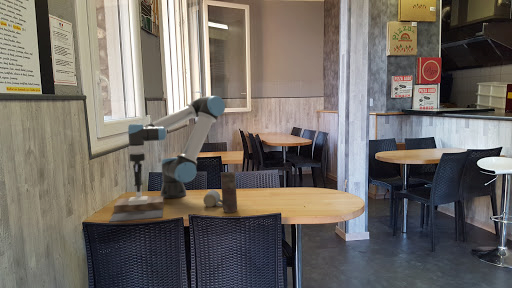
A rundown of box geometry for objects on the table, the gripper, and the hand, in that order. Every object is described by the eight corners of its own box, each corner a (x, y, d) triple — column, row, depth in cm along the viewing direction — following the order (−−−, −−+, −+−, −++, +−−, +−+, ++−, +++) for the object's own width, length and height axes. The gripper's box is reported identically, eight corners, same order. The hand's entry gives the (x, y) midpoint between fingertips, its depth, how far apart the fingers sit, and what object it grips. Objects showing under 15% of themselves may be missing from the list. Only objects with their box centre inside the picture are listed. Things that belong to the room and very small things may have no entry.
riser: (164, 202, 202) (163, 195, 202) (163, 209, 188) (162, 201, 188) (118, 206, 197) (118, 199, 196) (114, 213, 183) (113, 205, 183)
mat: (163, 209, 187) (163, 208, 187) (162, 217, 174) (162, 216, 174) (114, 213, 182) (114, 212, 182) (109, 222, 169) (109, 221, 169)
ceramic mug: (202, 207, 190) (202, 193, 189) (207, 203, 198) (206, 189, 197) (222, 208, 188) (222, 193, 187) (226, 204, 196) (225, 190, 195)
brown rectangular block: (219, 211, 182) (217, 172, 180) (230, 208, 187) (229, 170, 185) (229, 214, 176) (227, 173, 174) (240, 210, 181) (239, 171, 180)
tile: (148, 200, 192) (148, 196, 192) (147, 203, 185) (146, 199, 184) (130, 201, 191) (130, 197, 190) (128, 205, 183) (128, 200, 183)
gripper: (131, 152, 195) (133, 195, 198) (127, 155, 183) (130, 200, 185) (145, 151, 197) (147, 194, 199) (143, 154, 184) (145, 199, 186)
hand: (139, 197), depth 192 cm, fingers closed
